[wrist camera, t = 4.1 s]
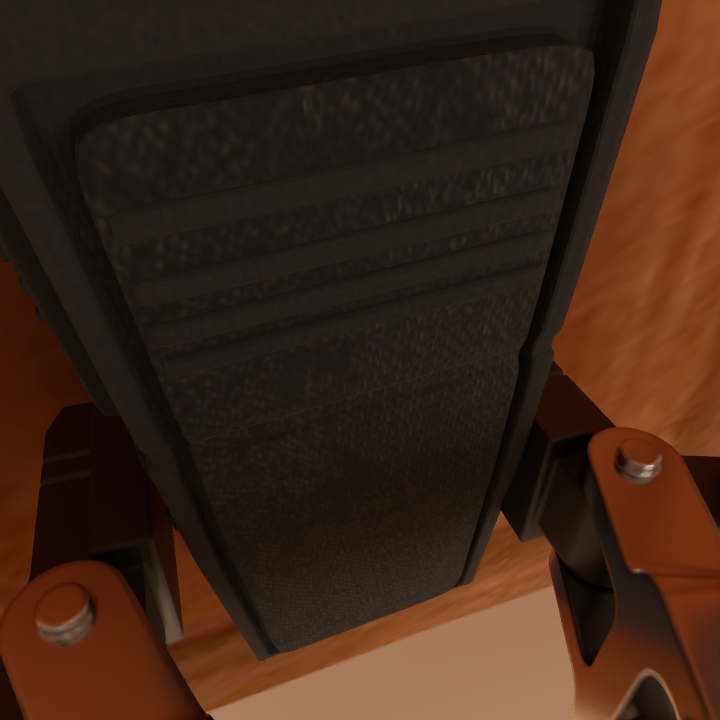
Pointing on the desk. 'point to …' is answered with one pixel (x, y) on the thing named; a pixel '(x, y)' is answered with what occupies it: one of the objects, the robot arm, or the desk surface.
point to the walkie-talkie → (314, 264)
